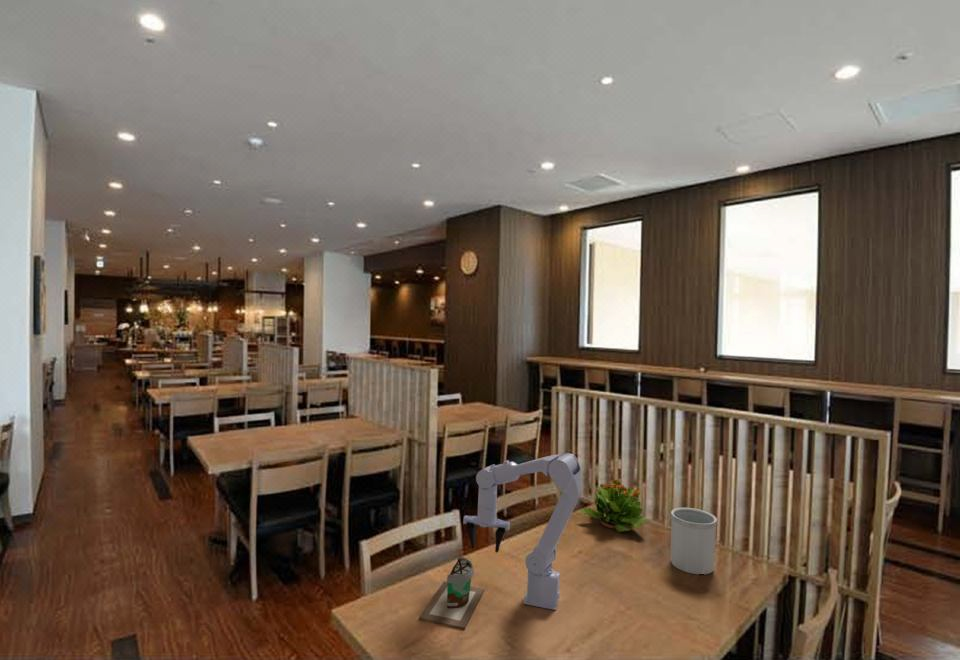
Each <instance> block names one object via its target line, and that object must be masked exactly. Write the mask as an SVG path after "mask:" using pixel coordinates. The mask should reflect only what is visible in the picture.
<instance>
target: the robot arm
mask: <svg viewBox="0 0 960 660" xmlns="http://www.w3.org/2000/svg"><path fill="white" fill-rule="evenodd" d="M539 472H541V473H543V475H545V476H546V477H548V476H549V477H550V479H552V481H553V483H555V484H556V486H557V487H558V488H559V490H560V492H561V496H560V498H559V499H558V502H557V504H556V506H555V508H554V510H553V512H552V514H551V517H550V518H549V520H548V523H547V525H546V527H545V528H544V531H543V533H542V535H541V537H540V539H539V541H538V542H537V544H536V545H535V546H534V548H533V550H532V551H531V552H529V553H528V554H527V556H526V557H525V559H524V560H525V566H526V568H527V586H526V594H525V596H524V599H523V604H524V605H528V606H531V607H532V606H533V607H539V608H544V609H549V610H554V611H556V610H557V609H558V608H557V607H558V603H559V600H560V594H561V593H560V580H561V579H560V578H561V574H560V572H557V571H555V570H554V569H553V562H554V561H555V560H556V557H557V548H558V542H559V541H560V539H561V537H562V535H563V533H564V531H565V529H566V526H567V524H568V522H569V520H570V518H571V516H572V515H573V512H574V510H575V508H576V506H577V504H578V502H579V500H580V498H581V497H582V493H583V489H582V487H583V486H582V478H581V477H582V476H581V475H582V474H581V472H582V466H581V464H580V462H579V460H578V458H577V457H576V456H575V455H574V454H572V453H569V452H565V453H562V454H552V455H548V456H544V457H540V458H537V459H532V460H529V461H525V462H522V463H516V462H515V461H509V460H508V459H507V460H504V461H503V462H502V463H500V464H495V463H494V464H491V465H489V466H486V467H485V468H483V469H481V470H479V471H478V472H477V473H476V476H475V481H476V483H477V485H478V495H477V497H478V498H477V499H478V500H477V501H478V502H477V515H464V516H463V521H462V522H463V525H465V531H466V534H467V535H468V537H469V541H470V546H471V549H475V547H476V543H477V542H476V541H477V540H476V539H477V528H478V527H477V526H480V527H481V528H487V527H488V528H495V529H496V530H495V553H498V552H499V551H500V546H501V542H502V540H503V537H504V535H505V533H506V531H507V532H508V531H509V530H510V527H511V522H509V521H506V520H503V519H499V518H497V502H498V501H497V497H498V485H503V484H506V483H511V482H515V481H518V480H519V478H520V476H524V475H529V474H534V473H539Z"/></svg>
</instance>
